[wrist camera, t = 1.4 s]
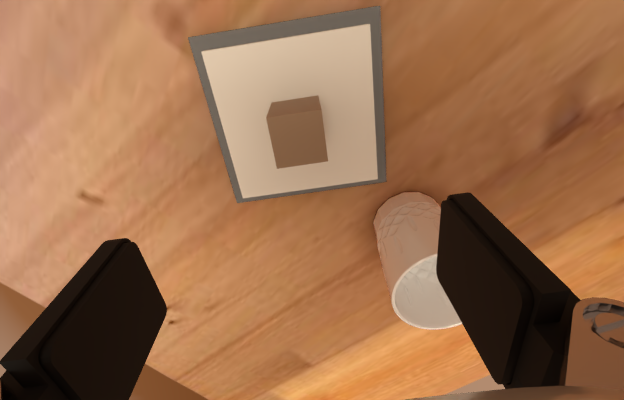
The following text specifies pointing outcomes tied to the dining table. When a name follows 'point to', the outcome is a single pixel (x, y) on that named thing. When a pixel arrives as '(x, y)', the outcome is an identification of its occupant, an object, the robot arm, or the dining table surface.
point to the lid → (297, 110)
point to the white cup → (413, 260)
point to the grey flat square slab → (287, 30)
